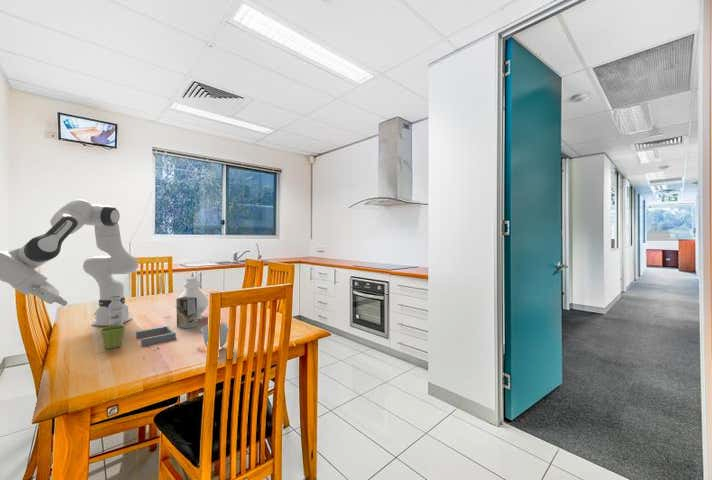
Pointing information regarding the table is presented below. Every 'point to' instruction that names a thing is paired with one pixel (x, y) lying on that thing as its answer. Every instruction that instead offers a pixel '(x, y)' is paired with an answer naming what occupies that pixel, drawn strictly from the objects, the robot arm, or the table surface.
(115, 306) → the plastic bottle
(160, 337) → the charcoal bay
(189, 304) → the coffee box
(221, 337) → the teacup
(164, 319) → the table surface
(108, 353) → the table surface
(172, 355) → the table surface
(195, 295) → the decorative vase
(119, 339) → the plant pot
